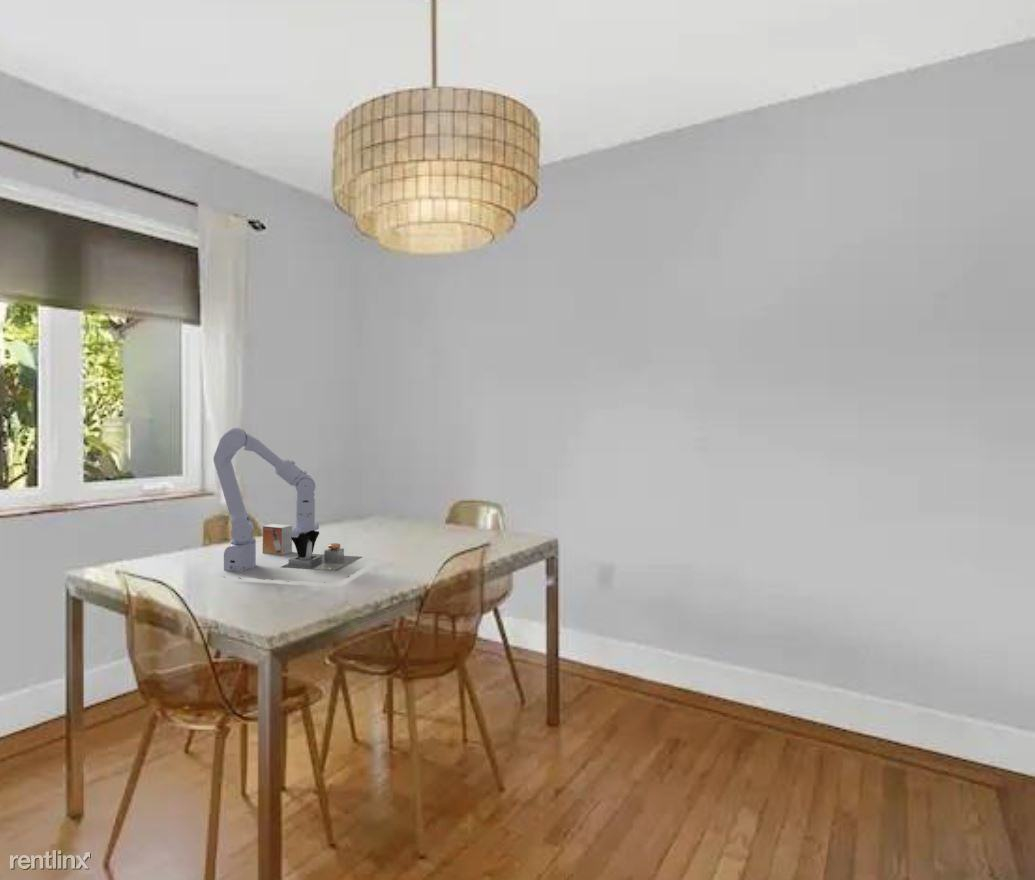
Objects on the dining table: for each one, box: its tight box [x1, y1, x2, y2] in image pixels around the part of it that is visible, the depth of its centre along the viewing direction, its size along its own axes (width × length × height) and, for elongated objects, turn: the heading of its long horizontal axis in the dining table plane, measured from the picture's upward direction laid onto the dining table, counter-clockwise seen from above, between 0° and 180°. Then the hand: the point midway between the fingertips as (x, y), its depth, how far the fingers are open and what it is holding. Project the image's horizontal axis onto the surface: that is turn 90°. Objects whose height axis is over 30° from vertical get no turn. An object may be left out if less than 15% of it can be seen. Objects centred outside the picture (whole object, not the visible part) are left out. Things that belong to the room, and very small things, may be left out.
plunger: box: [327, 542, 341, 551], centre depth 211 cm, size 4×4×4 cm
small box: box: [262, 523, 293, 556], centre depth 220 cm, size 8×6×10 cm
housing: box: [280, 547, 363, 572], centre depth 207 cm, size 19×19×4 cm
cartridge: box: [299, 540, 313, 560], centre depth 206 cm, size 4×4×7 cm
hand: (305, 555), depth 206 cm, fingers closed on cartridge, 4 cm apart
